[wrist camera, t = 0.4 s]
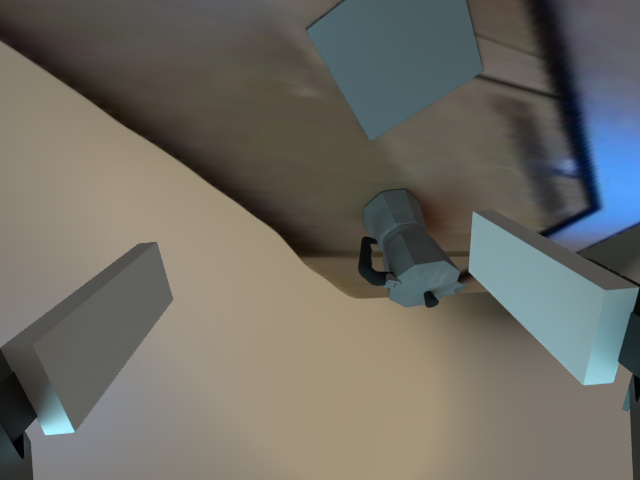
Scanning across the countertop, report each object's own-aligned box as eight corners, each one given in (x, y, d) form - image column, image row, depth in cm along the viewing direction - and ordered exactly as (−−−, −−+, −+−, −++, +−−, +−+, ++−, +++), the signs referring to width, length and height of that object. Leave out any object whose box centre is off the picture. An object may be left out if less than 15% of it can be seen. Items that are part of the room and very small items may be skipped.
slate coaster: (305, 29, 34) (306, 30, 34) (443, -79, 30) (446, -79, 30) (369, 139, 44) (370, 141, 44) (480, 69, 40) (483, 70, 39)
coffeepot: (440, 195, 53) (500, 286, 40) (410, 238, 58) (454, 329, 46) (351, 175, 48) (387, 271, 35) (328, 224, 53) (352, 322, 41)
